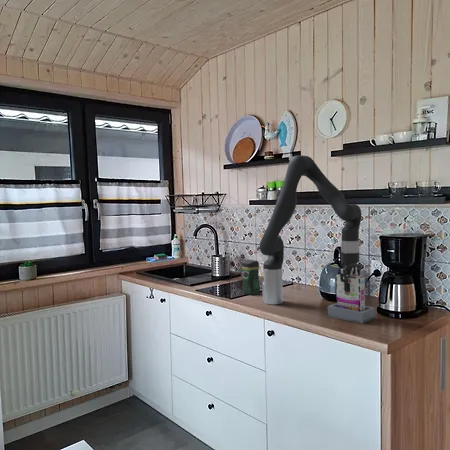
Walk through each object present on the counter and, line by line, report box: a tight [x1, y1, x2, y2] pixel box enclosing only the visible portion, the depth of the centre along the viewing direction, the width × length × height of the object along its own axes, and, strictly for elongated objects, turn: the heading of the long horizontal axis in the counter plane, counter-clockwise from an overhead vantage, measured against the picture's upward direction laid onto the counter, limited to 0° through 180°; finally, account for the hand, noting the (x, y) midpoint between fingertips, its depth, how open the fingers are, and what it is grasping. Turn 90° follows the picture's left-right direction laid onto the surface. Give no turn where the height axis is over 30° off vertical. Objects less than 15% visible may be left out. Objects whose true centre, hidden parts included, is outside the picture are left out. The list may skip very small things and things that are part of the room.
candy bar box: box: [335, 273, 366, 312], centre depth 179 cm, size 11×5×16 cm, turn 45°
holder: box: [327, 302, 376, 325], centre depth 179 cm, size 16×10×4 cm, turn 43°
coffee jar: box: [241, 259, 261, 295], centre depth 228 cm, size 10×8×19 cm
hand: (350, 290), depth 179 cm, fingers closed on candy bar box, 5 cm apart
